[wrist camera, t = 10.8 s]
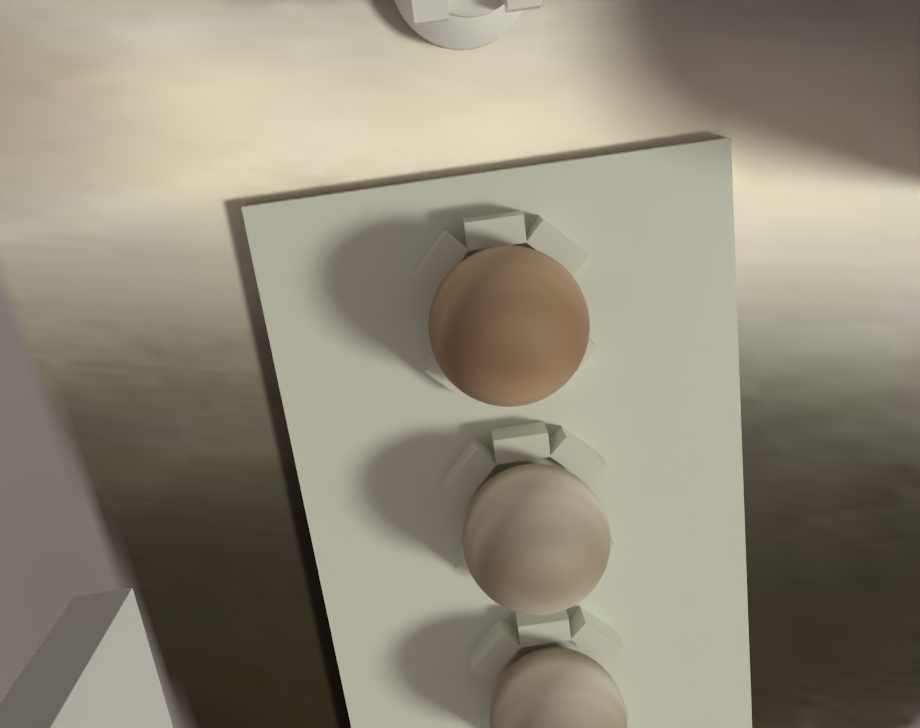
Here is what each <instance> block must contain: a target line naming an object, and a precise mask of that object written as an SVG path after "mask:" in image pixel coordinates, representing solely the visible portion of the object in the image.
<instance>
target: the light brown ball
mask: <svg viewBox="0 0 920 728" xmlns="http://www.w3.org/2000/svg"><path fill="white" fill-rule="evenodd" d="M428 330H429V339H430V344H431V348H432V352H433V354H434V357H435V360H436V362H437V363H438V365H439V367H440V369H441V370H442V372H443V373H444V375H445V376H446V377H447V378H448V379H449V381H450V382H451V383H452V384H453V385H454V386H455V387H457V388H458V389H459V390H460V391H461V392H463V393H464V394H466V395H468V396H469V397H471V398H473V399H475V400H478V401H480V402H483V403H486V404H490V405H495V406H501V407H516V406H523V405H528V404H532V403H535V402H538V401H540V400H543V399H545V398H547V397H549V396H550V395H552V394H553V393H555V392H556V391H558V390H559V389H560V388H561V387H563V386H564V385H565V384H566V383H567V382H568V380H569V379H570V378H571V377H572V376H573V374H574V373H575V372H576V370H577V369H578V367H579V365H580V363H581V362H582V360H583V357H584V355H585V352H586V349H587V345H588V340H589V332H590V318H589V312H588V307H587V304H586V300H585V297H584V295H583V293H582V291H581V289H580V287H579V285H578V283H577V282H576V280H575V279H574V277H573V276H572V275H571V274H570V273H569V271H568V270H567V269H566V268H564V267H563V266H562V265H561V264H560V263H559V262H557V261H556V260H554V259H553V258H551V257H550V256H548V255H546V254H544V253H542V252H540V251H537V250H534V249H531V248H527V247H521V246H497V247H493V248H488V249H485V250H482V251H479V252H477V253H475V254H473V255H471V256H469V257H467V258H466V259H464V260H463V261H461V262H460V263H459V264H457V265H456V266H455V267H454V268H453V269H452V270H451V271H450V272H449V273H448V274H447V276H446V277H445V278H444V279H443V281H442V282H441V284H440V285H439V287H438V289H437V291H436V293H435V296H434V299H433V302H432V305H431V309H430V314H429V324H428Z"/></svg>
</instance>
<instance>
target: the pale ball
mask: <svg viewBox="0 0 920 728" xmlns="http://www.w3.org/2000/svg"><path fill="white" fill-rule="evenodd" d="M489 724H490V728H627V713H626V707H625V703H624V700H623V697H622V695H621V692H620V690H619V688H618V686H617V684H616V683H615V681H614V680H613V678H612V677H611V676H610V674H609V673H608V672H607V671H606V670H605V669H604V668H603V667H602V666H601V665H600V664H599V663H598V662H596V661H595V660H594V659H592V658H590V657H589V656H587V655H585V654H583V653H581V652H578V651H575V650H572V649H567V648H560V647H551V648H543V649H539V650H536V651H533V652H530V653H528V654H526V655H524V656H523V657H521V658H520V659H518V660H517V661H516V662H514V663H513V664H512V665H511V666H510V667H509V668H508V669H507V670H506V672H505V673H504V674H503V675H502V677H501V678H500V680H499V682H498V684H497V686H496V688H495V691H494V693H493V696H492V700H491V705H490V713H489Z"/></svg>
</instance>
